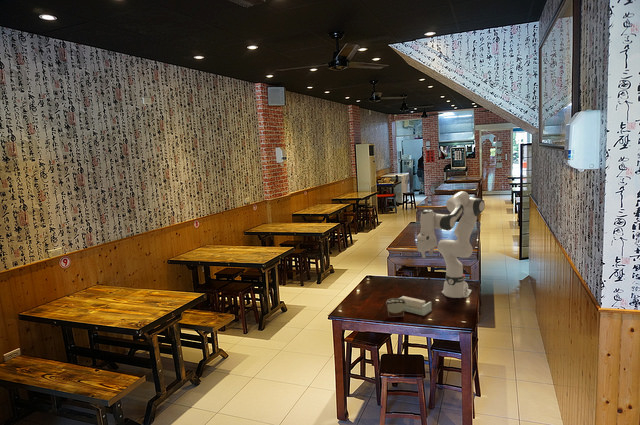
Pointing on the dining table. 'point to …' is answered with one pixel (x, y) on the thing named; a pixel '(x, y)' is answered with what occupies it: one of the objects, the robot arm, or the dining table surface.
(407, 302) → the clay strip
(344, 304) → the dining table surface
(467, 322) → the dining table surface
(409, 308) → the grey elongated piece
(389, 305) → the food container
